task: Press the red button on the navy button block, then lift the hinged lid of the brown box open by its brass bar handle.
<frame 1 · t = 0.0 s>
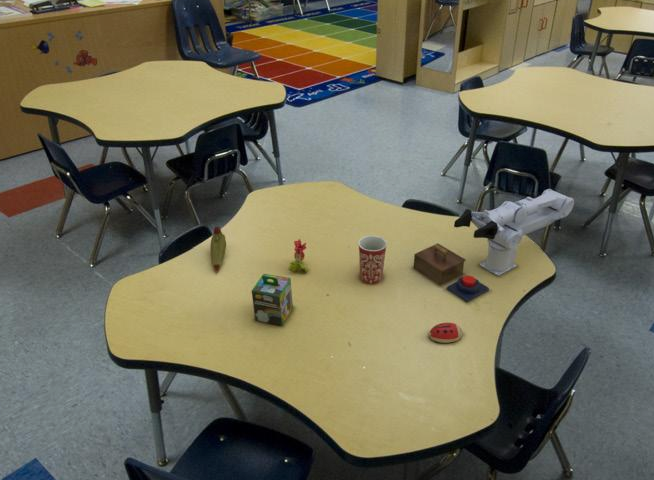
hand: (464, 229, 175), 22 cm above the table, tool horizontal, fingers open, 7 cm apart
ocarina: (218, 258, 204), on the table
brown box: (437, 271, 194), on the table
button block: (467, 290, 185), on the table
mug: (371, 274, 194), on the table
watermelon slice: (445, 336, 167), on the table
box lid: (440, 253, 191), point 7 cm above the table, hinge at 0.0°
bird rattle: (298, 268, 198), on the table
buzzer button: (468, 281, 183), point 3 cm above the table, slide at 0.1 cm
chalk box: (273, 314, 177), on the table
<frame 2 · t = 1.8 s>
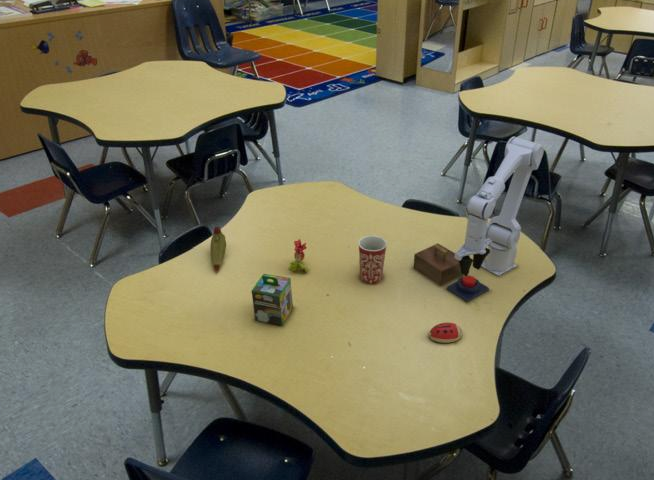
hand: (470, 271, 181), 7 cm above the table, tool pointing down, fingers open, 5 cm apart
nothing on the table moved.
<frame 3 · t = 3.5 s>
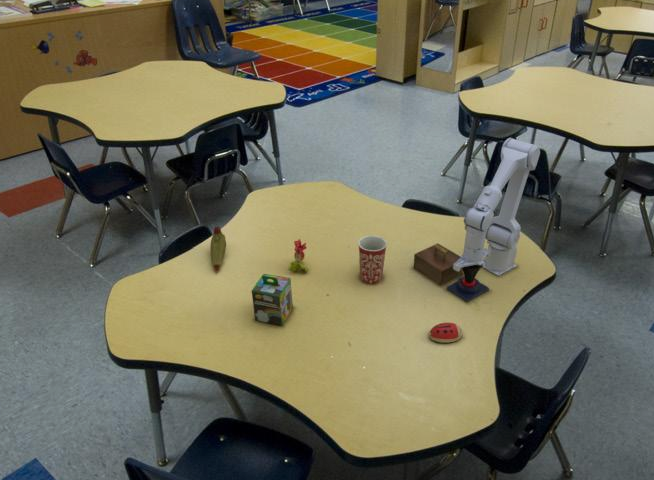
hand: (468, 281, 183), 3 cm above the table, tool pointing down, fingers closed, pressing on buzzer button
buzzer button: (468, 283, 184), point 3 cm above the table, slide at -0.8 cm, touching gripper
everything else where it was.
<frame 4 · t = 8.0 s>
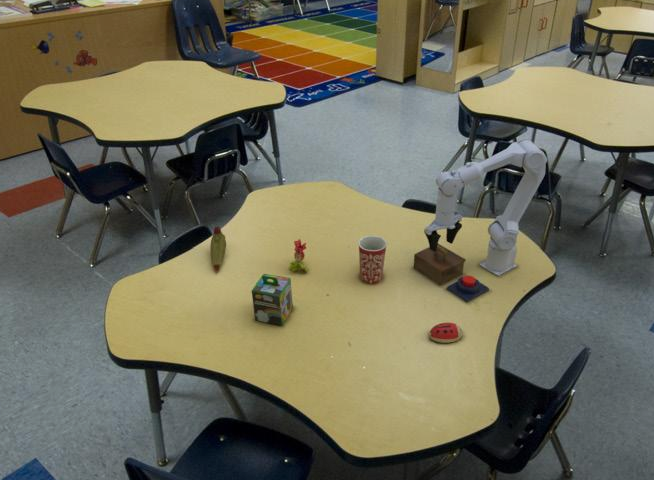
hand: (441, 246, 189), 10 cm above the table, tool pointing down, fingers open, 7 cm apart
buzzer button: (468, 281, 183), point 3 cm above the table, slide at 0.1 cm
everything else where it was.
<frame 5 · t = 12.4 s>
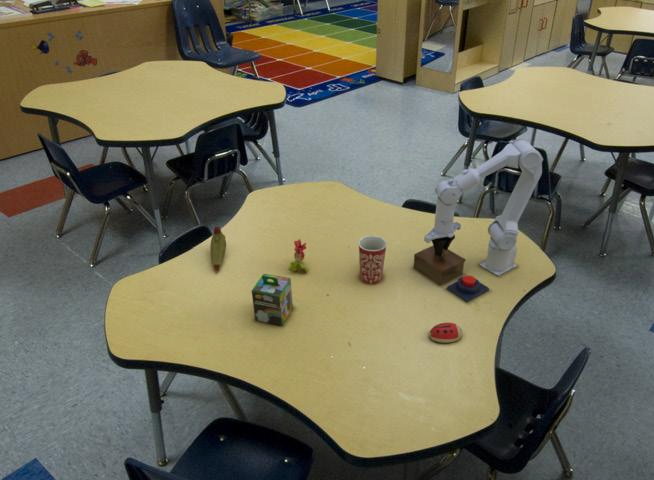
hand: (440, 254, 191), 7 cm above the table, tool pointing down, fingers closed on box lid
box lid: (440, 253, 191), point 7 cm above the table, hinge at 0.0°, touching gripper
everything else where it was.
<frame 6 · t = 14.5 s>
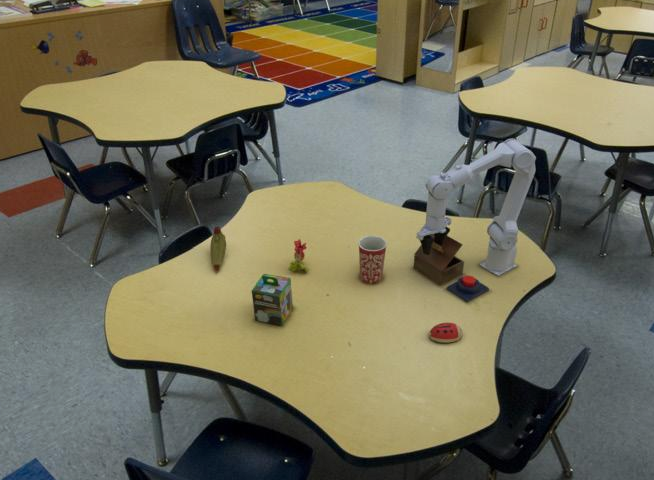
hand: (431, 250, 187), 10 cm above the table, tool pointing down, fingers open, 5 cm apart
box lid: (435, 247, 188), point 10 cm above the table, hinge at 40.3°, touching gripper
everything else where it was.
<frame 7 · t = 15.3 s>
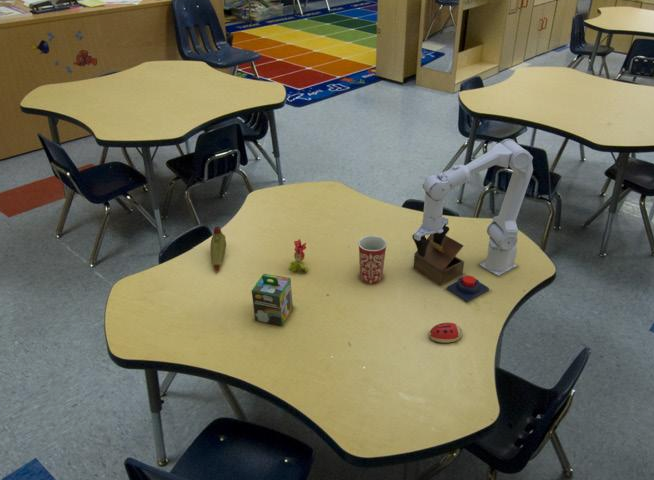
hand: (429, 250, 186), 10 cm above the table, tool pointing down, fingers open, 7 cm apart
box lid: (436, 247, 188), point 10 cm above the table, hinge at 36.5°, touching gripper
everything else where it was.
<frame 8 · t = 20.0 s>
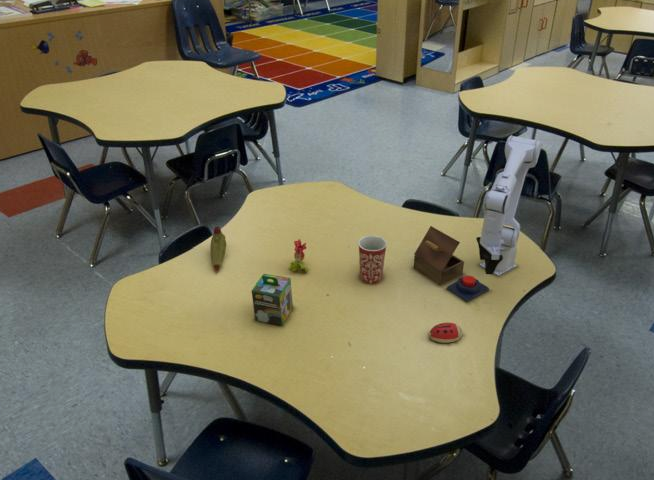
hand: (486, 266, 180), 9 cm above the table, tool pointing down, fingers open, 7 cm apart
box lid: (433, 247, 187), point 11 cm above the table, hinge at 51.7°
everything else where it was.
at the end: buzzer button pushed in 0.9 cm at the most during the clip, back to where it started at the end; buzzer button slide at 0.1 cm; box lid at +52° (first picture: +0°) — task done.
